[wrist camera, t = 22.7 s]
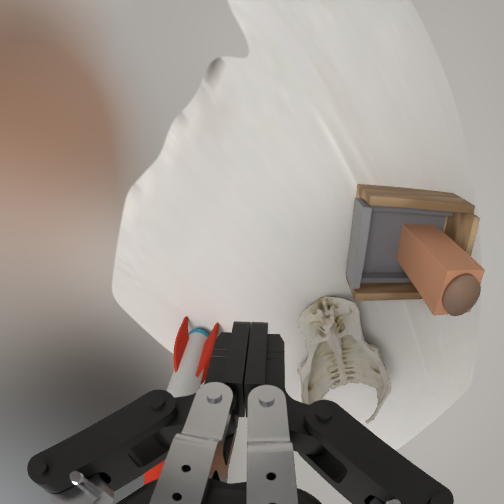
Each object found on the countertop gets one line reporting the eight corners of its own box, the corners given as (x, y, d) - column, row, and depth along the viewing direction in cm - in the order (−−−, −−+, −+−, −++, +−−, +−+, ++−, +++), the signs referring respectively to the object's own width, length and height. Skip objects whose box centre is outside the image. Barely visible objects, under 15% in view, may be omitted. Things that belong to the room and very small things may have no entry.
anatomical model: (311, 438, 45) (271, 352, 35) (308, 399, 53) (272, 306, 43) (393, 418, 42) (393, 320, 32) (382, 380, 50) (372, 278, 40)
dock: (357, 184, 34) (375, 200, 28) (453, 193, 33) (481, 210, 27) (346, 277, 40) (357, 307, 34) (434, 277, 39) (455, 303, 33)
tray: (354, 197, 34) (363, 207, 30) (444, 204, 33) (458, 214, 29) (345, 273, 38) (351, 288, 35) (429, 273, 37) (440, 287, 34)
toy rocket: (184, 315, 45) (113, 498, 18) (220, 322, 45) (171, 516, 18) (183, 341, 47) (124, 510, 20) (216, 347, 47) (174, 524, 20)
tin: (402, 223, 34) (451, 275, 22) (435, 225, 33) (488, 273, 22) (396, 259, 36) (436, 320, 24) (427, 259, 36) (473, 316, 24)
